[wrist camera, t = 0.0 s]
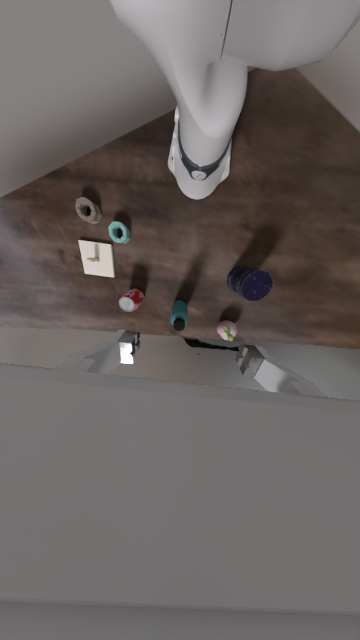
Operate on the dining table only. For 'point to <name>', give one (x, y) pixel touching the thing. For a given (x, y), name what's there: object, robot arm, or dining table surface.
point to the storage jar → (250, 282)
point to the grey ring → (82, 210)
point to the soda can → (131, 300)
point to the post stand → (97, 258)
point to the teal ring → (113, 232)
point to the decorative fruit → (227, 330)
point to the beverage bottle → (179, 315)
